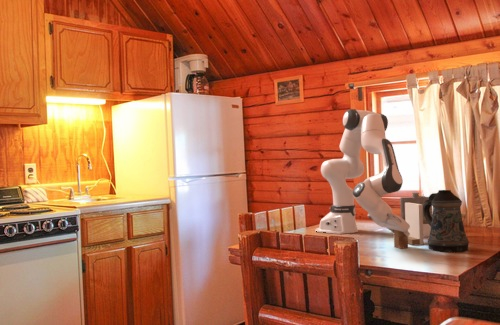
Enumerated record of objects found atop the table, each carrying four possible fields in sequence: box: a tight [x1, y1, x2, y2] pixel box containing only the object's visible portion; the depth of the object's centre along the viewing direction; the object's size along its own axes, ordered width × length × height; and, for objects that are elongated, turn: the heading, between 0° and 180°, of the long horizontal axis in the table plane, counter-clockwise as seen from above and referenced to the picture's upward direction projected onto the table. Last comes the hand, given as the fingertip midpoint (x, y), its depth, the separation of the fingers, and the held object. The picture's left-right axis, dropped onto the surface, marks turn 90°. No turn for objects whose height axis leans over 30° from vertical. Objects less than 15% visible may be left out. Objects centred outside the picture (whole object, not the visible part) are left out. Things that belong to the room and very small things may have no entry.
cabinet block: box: [393, 230, 409, 250], centre depth 220 cm, size 4×4×11 cm
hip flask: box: [399, 191, 433, 218], centre depth 263 cm, size 16×4×20 cm, turn 82°
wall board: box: [405, 203, 424, 246], centre depth 229 cm, size 10×6×18 cm, turn 18°
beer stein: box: [423, 189, 470, 254], centre depth 214 cm, size 16×19×25 cm
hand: (401, 233), depth 220 cm, fingers open, 8 cm apart
